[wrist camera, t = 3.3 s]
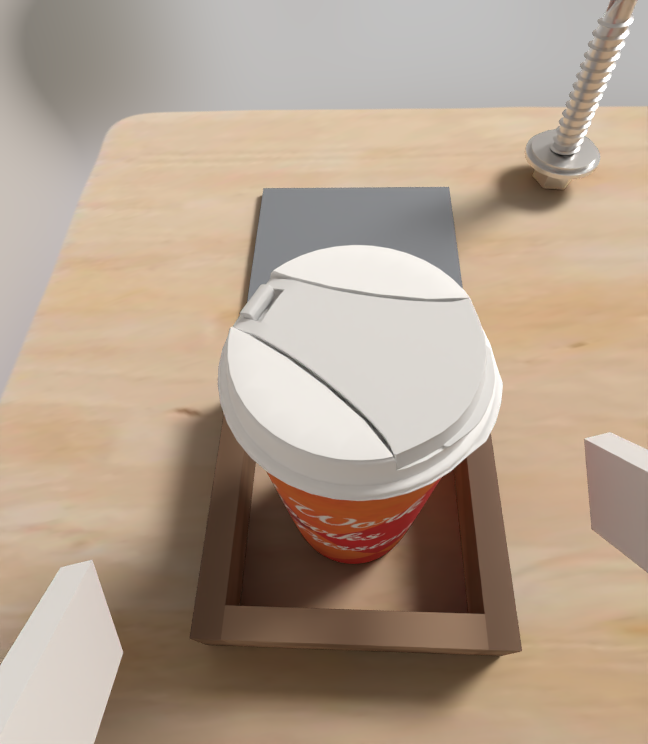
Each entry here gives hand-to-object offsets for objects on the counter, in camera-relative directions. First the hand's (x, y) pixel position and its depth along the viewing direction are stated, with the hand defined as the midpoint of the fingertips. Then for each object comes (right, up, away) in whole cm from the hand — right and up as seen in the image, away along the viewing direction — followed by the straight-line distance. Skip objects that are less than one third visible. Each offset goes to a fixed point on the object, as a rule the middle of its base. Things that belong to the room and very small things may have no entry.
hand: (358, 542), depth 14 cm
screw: (+15, +18, +24) cm, 34 cm away
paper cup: (+1, -2, +12) cm, 12 cm away
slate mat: (+1, +12, +20) cm, 23 cm away
